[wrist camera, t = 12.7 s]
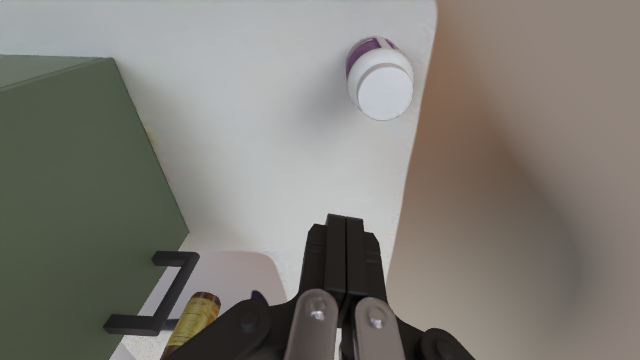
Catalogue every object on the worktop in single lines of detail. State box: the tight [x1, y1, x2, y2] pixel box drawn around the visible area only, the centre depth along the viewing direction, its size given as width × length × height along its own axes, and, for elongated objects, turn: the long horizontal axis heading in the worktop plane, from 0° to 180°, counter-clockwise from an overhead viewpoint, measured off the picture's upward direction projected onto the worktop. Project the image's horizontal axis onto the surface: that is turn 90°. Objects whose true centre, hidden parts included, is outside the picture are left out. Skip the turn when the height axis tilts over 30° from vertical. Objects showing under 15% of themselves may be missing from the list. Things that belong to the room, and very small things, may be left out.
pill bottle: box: [346, 36, 414, 121], centre depth 24 cm, size 5×5×10 cm
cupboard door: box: [0, 58, 200, 360], centre depth 26 cm, size 7×26×24 cm, turn 2°
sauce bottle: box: [160, 292, 221, 360], centre depth 47 cm, size 7×6×20 cm
